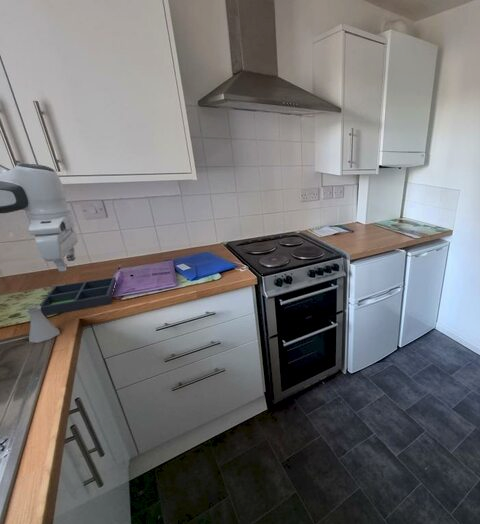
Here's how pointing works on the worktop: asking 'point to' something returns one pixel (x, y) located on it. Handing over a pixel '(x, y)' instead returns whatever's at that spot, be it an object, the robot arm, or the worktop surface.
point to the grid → (78, 296)
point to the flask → (40, 326)
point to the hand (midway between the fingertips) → (67, 265)
